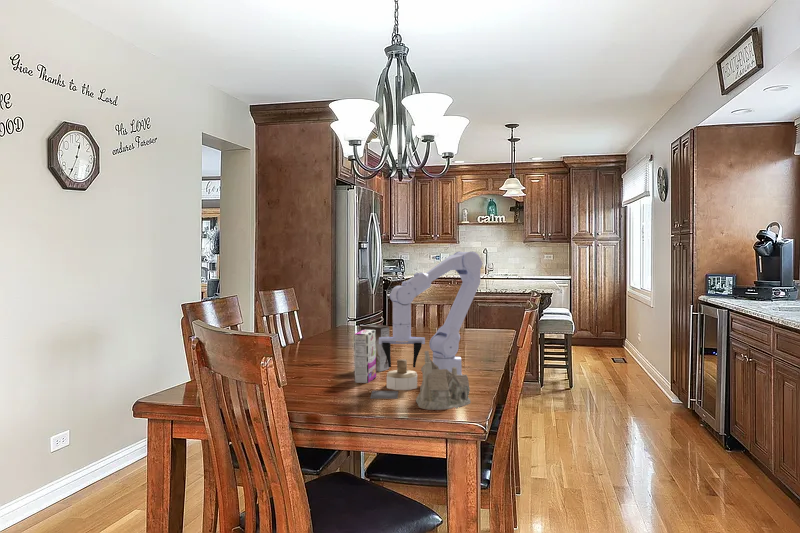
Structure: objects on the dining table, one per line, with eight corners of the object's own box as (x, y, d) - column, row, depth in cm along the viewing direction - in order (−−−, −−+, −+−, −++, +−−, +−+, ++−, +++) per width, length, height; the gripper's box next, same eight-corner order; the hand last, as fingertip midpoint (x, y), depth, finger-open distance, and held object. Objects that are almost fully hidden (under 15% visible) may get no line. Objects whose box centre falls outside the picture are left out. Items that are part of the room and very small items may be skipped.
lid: (417, 372, 193) (417, 357, 193) (415, 378, 184) (415, 362, 184) (389, 372, 194) (389, 357, 194) (385, 377, 185) (385, 362, 185)
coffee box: (359, 369, 220) (359, 325, 220) (369, 366, 226) (369, 324, 225) (380, 371, 215) (380, 327, 215) (390, 369, 221) (390, 325, 220)
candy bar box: (362, 376, 207) (362, 329, 206) (376, 377, 206) (376, 329, 205) (353, 383, 196) (353, 333, 195) (368, 384, 195) (368, 333, 194)
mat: (398, 392, 183) (398, 390, 183) (397, 399, 173) (397, 398, 173) (372, 391, 184) (372, 390, 184) (369, 399, 174) (369, 398, 174)
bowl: (417, 384, 194) (417, 372, 194) (417, 391, 184) (417, 378, 184) (387, 384, 194) (387, 372, 194) (386, 391, 185) (386, 378, 185)
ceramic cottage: (415, 410, 161) (418, 354, 161) (415, 398, 177) (418, 347, 177) (473, 414, 160) (477, 358, 160) (468, 402, 177) (471, 351, 177)
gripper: (378, 325, 185) (378, 369, 185) (425, 325, 185) (425, 369, 185) (379, 322, 192) (379, 365, 192) (424, 322, 192) (424, 365, 192)
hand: (402, 366), depth 189 cm, fingers open, 7 cm apart
